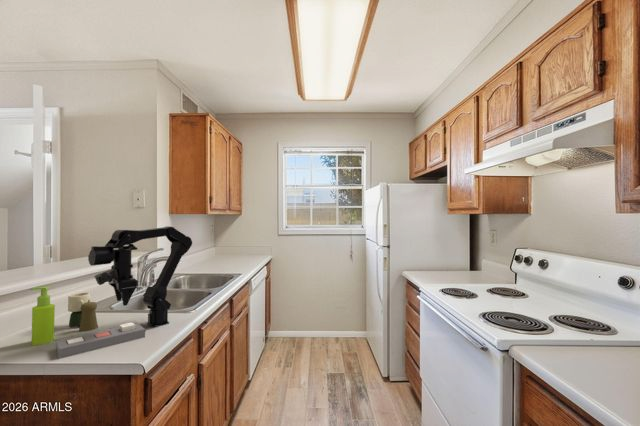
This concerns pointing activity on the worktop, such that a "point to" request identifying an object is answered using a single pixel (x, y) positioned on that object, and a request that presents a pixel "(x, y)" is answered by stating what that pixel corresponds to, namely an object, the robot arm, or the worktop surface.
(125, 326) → the button
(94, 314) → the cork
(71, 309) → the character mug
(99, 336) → the red button
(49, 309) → the soap dispenser
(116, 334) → the button panel
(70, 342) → the button
